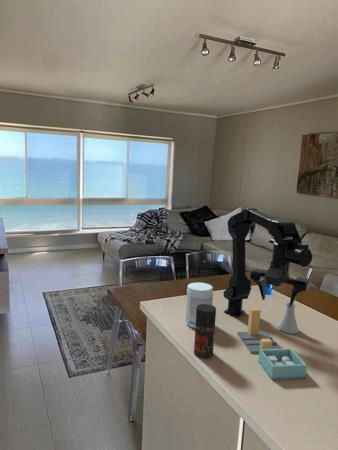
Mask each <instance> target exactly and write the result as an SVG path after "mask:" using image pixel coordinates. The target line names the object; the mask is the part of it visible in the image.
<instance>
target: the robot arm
mask: <svg viewBox="0 0 338 450" xmlns="http://www.w3.org/2000/svg"><path fill="white" fill-rule="evenodd" d="M253 224H257V225H258V226H260V227H262V228H264V229H266V230H267V233H268V234H269V235H270V236H271V237H272V238H271V239H270V240H269V242H268V243H269V244H272V245H273V246H272V255H271V262H270V263H269V264H270V265H269V268H268V269H267V270H266V269H262V268H255V269H253V270H251V271H250V272H249V278H248V276H247V275H246V238H247V236H248V235H249V233H250V227H251V226H252V225H253ZM296 225H297V224H296V223H295V222H294V221H291V220H287V219H278V218H275V217H273V216H270V215H269V214H266V213H264V212H263V211H259V210H258V209H257V208H254V207H253V208H252V207H251V208H249V207H247V208H245V209H242V211H239V212H238V213H236V214H234V215H232V216H230V217H229V219H228V220H227V231H228V234H229V235H230V237H231V238H232V275H231V277H230V279H229V280H228V287H227V288H226V289H224V290H223V298H225V299H227V301H228V302H227V308H226V309H225V310H224V311H223V312H224V314H228V315H232V316H235V317H238V318H239V317H240V316H242V315H243V314H244V313H245V312H246V311H245V310H243V301H244V300H248V299H249V296H250V294H251V290H252V281H253V283H256V285H257V286H258V290H259V292H260V295H261V299H262V301H265V299H266V295H267V285H271V286H274V287H281V284H287V285H291V286H292V287H293V288H292V289H291V296H290V300H289V303H290V307H292V305H293V304H295V300H297V297H298V295H299V294H300V293H301V294H302V293H303V292H307V291H308V290H309V289H310V288H311V280H310V278H306V277H300V276H297V277H296V278H291V277H290V265H291V264H294V265H296V266H300V267H301V268H304V267H305V268H306V267H308V266H309V265H310V264H311V262H312V260H313V253H312V251H311V249H309V244H305V243H303V241H302V238H301V236H300V232H299V231H298V229H297V227H296Z"/></svg>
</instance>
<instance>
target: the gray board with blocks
mask: <svg viewBox="0 0 338 450" xmlns="http://www.w3.org/2000/svg"><path fill="white" fill-rule="evenodd" d="M261 312H262V311H261V309H260V308H259V307H249V311H248V323H247V331H236V333H237V336H238V337H239V339H240V340H241V341H243V342H242V343H243V344H244V346H245V347H246V349H247V350H248V352H249V351H250V352H249V353H250V354H251V353H252V354H259V349H282V348H281V346H280V345H278V342H276V341H275V340H274V339H273V337H272V336H271V335H270V334H269V333H268V332H267V331H266V330H265V331H260V322H261V320H260V319H261Z"/></svg>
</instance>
